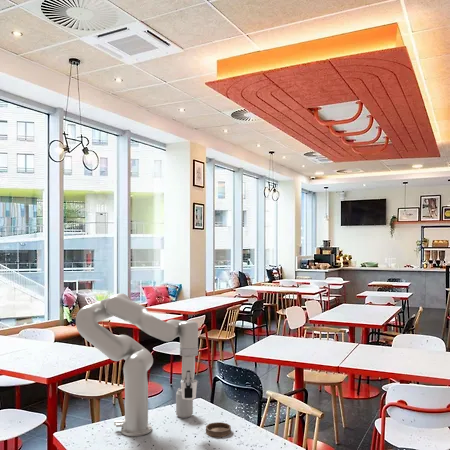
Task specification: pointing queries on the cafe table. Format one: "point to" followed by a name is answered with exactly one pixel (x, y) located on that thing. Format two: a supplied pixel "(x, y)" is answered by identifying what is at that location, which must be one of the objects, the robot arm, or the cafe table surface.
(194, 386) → the white tapered cylinder
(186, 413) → the can
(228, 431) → the round bowl
